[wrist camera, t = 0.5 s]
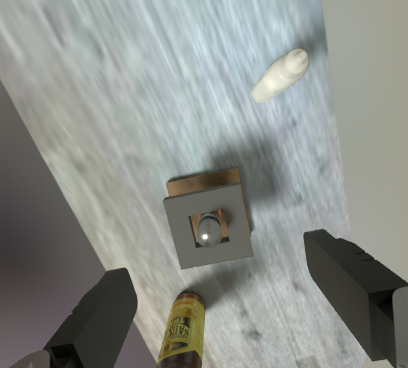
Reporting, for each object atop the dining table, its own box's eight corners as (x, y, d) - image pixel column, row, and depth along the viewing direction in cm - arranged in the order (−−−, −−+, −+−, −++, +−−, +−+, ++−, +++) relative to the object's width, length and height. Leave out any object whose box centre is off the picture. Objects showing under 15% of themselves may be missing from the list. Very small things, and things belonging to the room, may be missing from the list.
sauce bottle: (192, 284, 39) (175, 426, 19) (211, 308, 40) (213, 467, 20) (164, 301, 40) (121, 453, 20) (184, 324, 41) (160, 492, 21)
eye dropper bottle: (287, 100, 32) (331, 76, 21) (250, 104, 33) (274, 82, 21) (287, 70, 32) (333, 27, 20) (249, 74, 32) (273, 33, 20)
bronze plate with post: (167, 182, 35) (148, 199, 24) (237, 167, 34) (249, 178, 24) (183, 246, 37) (173, 288, 27) (249, 233, 37) (266, 271, 26)
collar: (165, 197, 28) (162, 200, 27) (238, 182, 28) (239, 184, 26) (182, 263, 30) (181, 269, 29) (251, 250, 30) (253, 256, 28)
